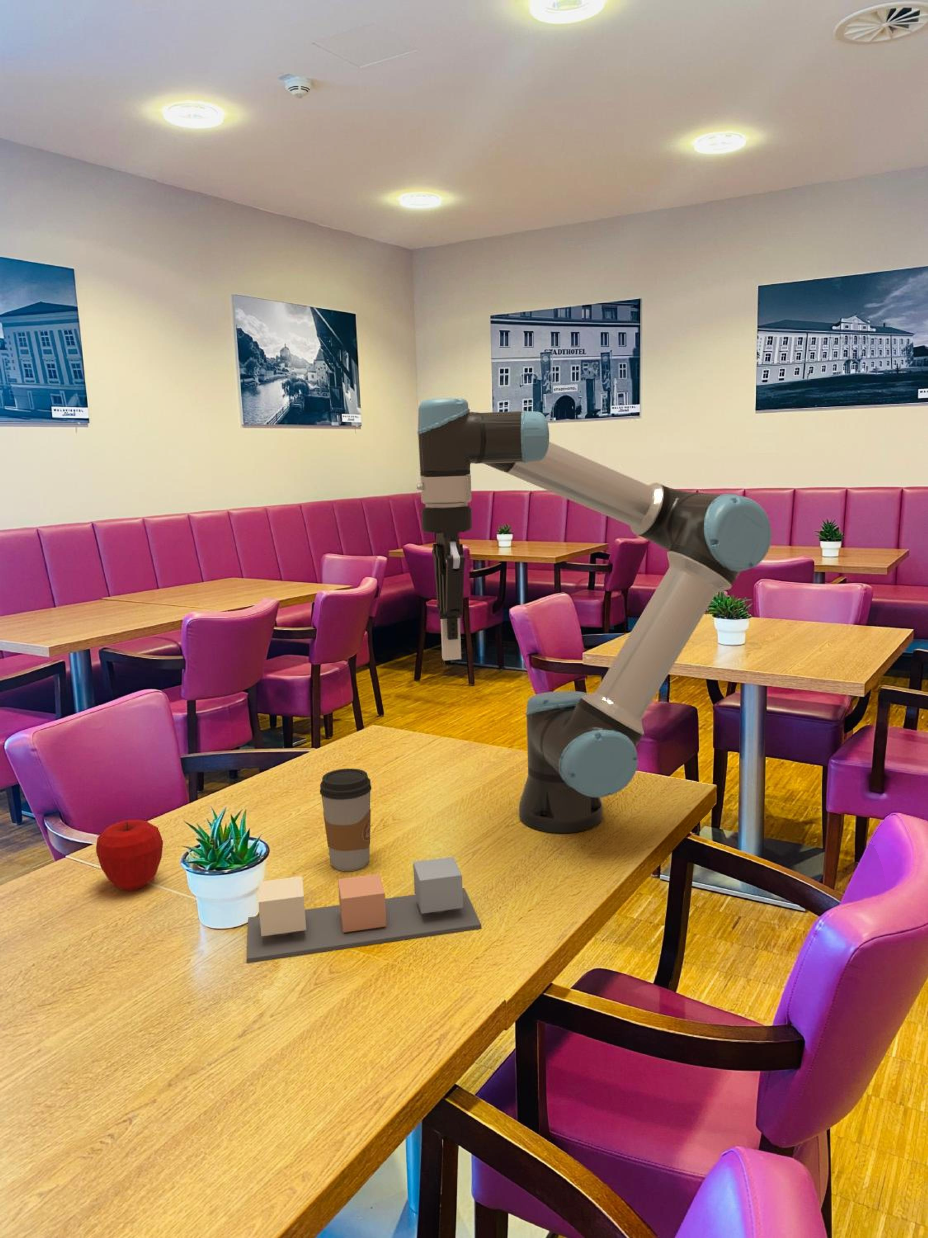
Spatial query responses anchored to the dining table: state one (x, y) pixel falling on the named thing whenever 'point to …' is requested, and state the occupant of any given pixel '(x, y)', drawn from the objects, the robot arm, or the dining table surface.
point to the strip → (329, 934)
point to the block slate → (438, 885)
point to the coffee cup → (347, 817)
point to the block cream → (281, 906)
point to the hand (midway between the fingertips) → (451, 658)
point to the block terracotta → (362, 902)
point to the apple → (130, 853)
